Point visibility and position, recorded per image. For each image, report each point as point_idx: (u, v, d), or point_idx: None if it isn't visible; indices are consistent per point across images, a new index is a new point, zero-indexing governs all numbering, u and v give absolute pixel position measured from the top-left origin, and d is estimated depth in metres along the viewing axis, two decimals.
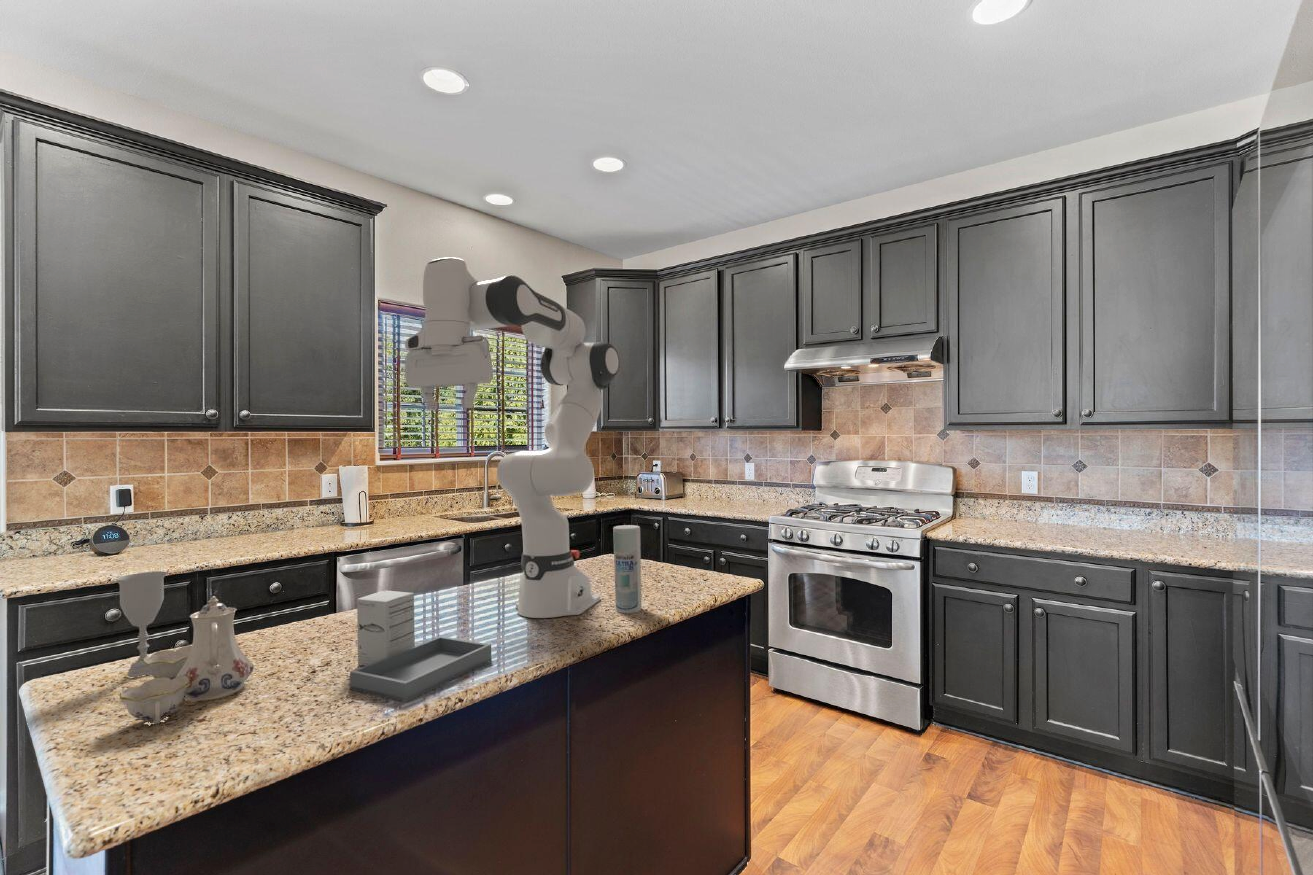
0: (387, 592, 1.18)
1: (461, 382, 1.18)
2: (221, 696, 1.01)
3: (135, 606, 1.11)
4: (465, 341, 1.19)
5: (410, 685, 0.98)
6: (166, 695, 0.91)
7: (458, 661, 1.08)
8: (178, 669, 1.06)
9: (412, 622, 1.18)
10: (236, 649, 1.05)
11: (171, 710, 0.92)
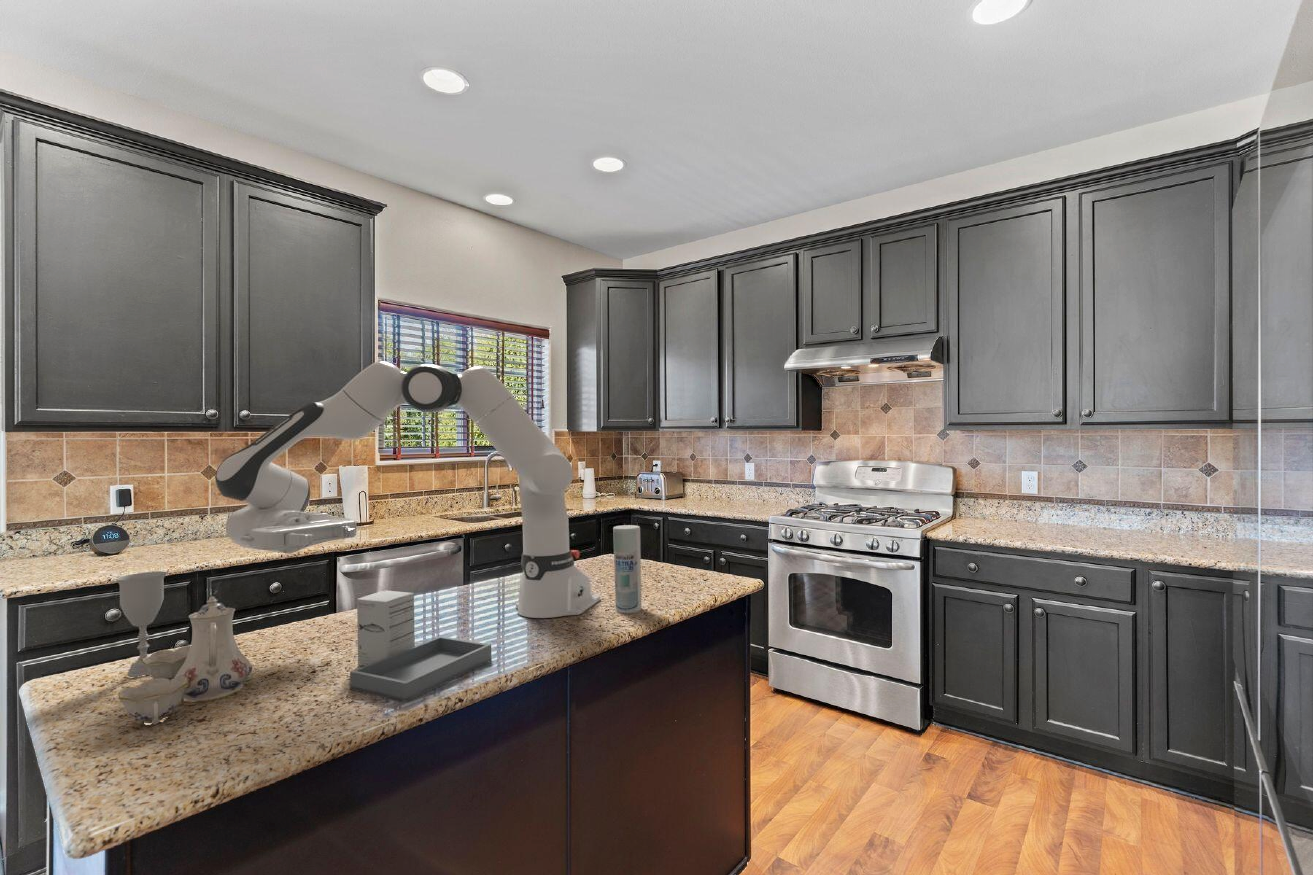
0: (387, 592, 1.18)
1: (291, 546, 1.20)
2: (220, 696, 1.01)
3: (135, 606, 1.11)
4: None
5: (410, 685, 0.98)
6: (165, 695, 0.91)
7: (458, 661, 1.08)
8: (177, 669, 1.05)
9: (412, 622, 1.18)
10: (235, 649, 1.04)
11: (170, 710, 0.92)
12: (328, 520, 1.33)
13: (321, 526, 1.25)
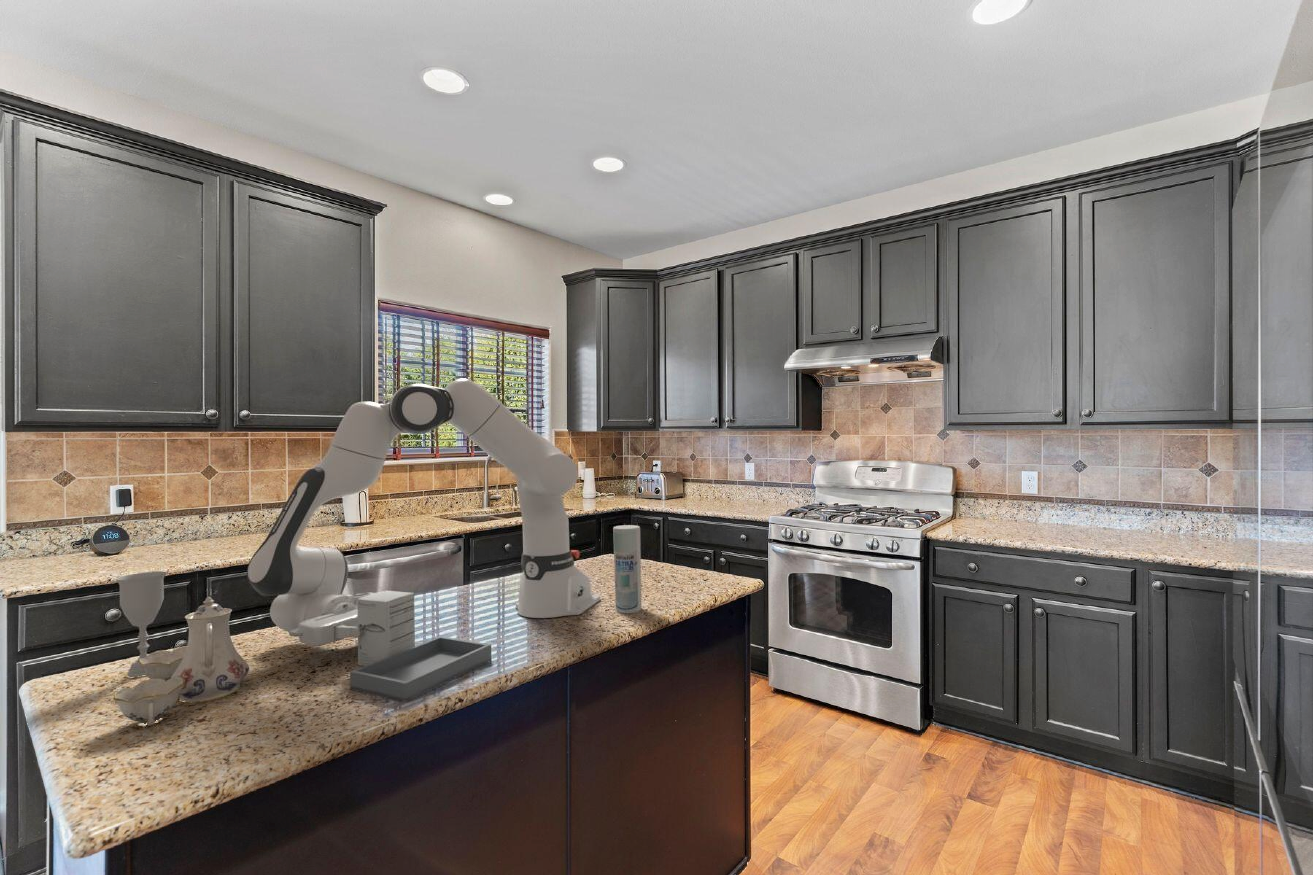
0: (387, 592, 1.18)
1: (341, 638, 1.14)
2: (216, 697, 1.01)
3: (135, 606, 1.11)
4: None
5: (410, 685, 0.98)
6: (160, 696, 0.90)
7: (458, 661, 1.08)
8: (174, 670, 1.05)
9: (413, 622, 1.18)
10: (231, 650, 1.04)
11: (165, 711, 0.92)
12: None
13: None
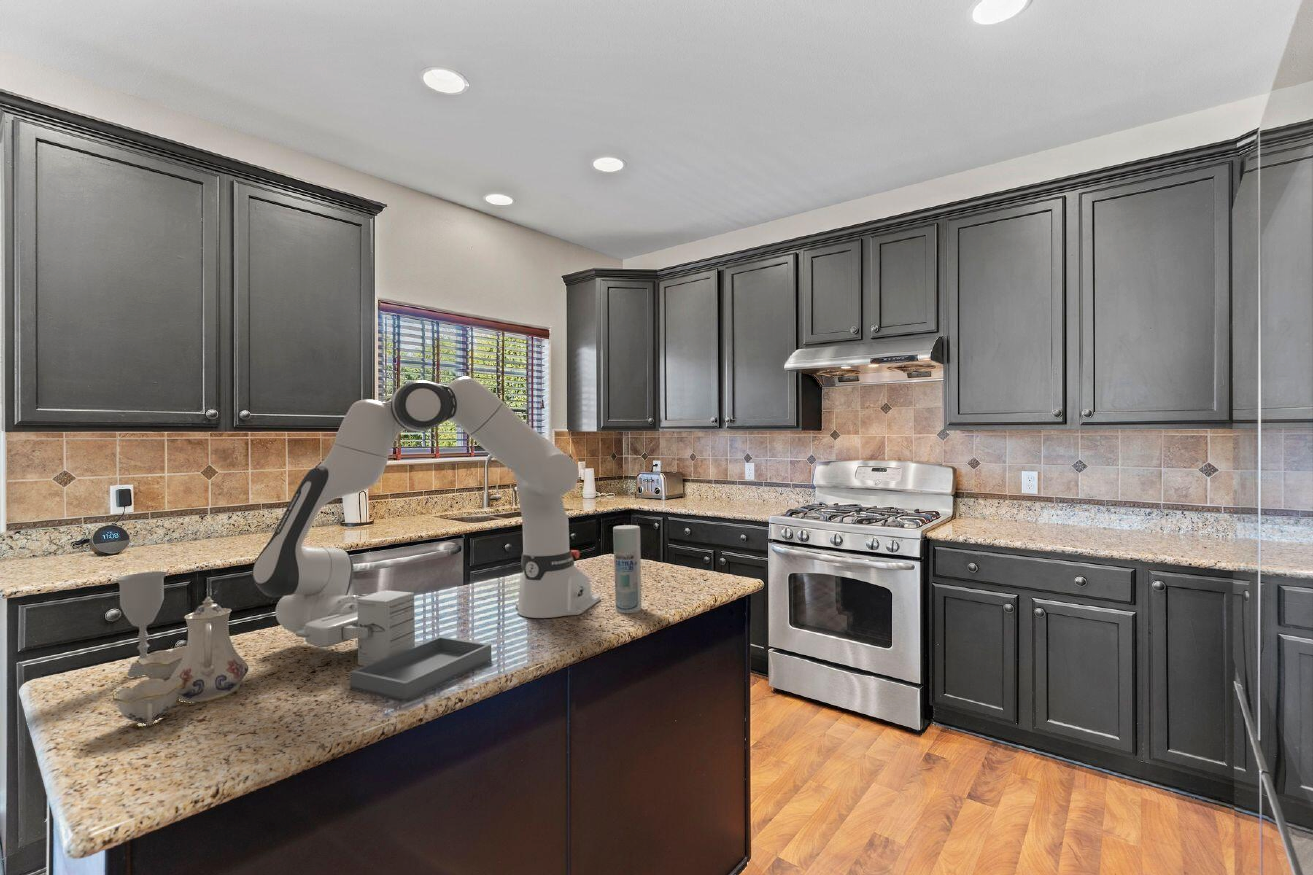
0: (387, 592, 1.18)
1: (348, 639, 1.13)
2: (215, 697, 1.00)
3: (135, 606, 1.11)
4: None
5: (410, 685, 0.98)
6: (159, 696, 0.90)
7: (458, 661, 1.08)
8: (173, 670, 1.05)
9: (413, 621, 1.18)
10: (231, 650, 1.04)
11: (164, 711, 0.92)
12: None
13: None
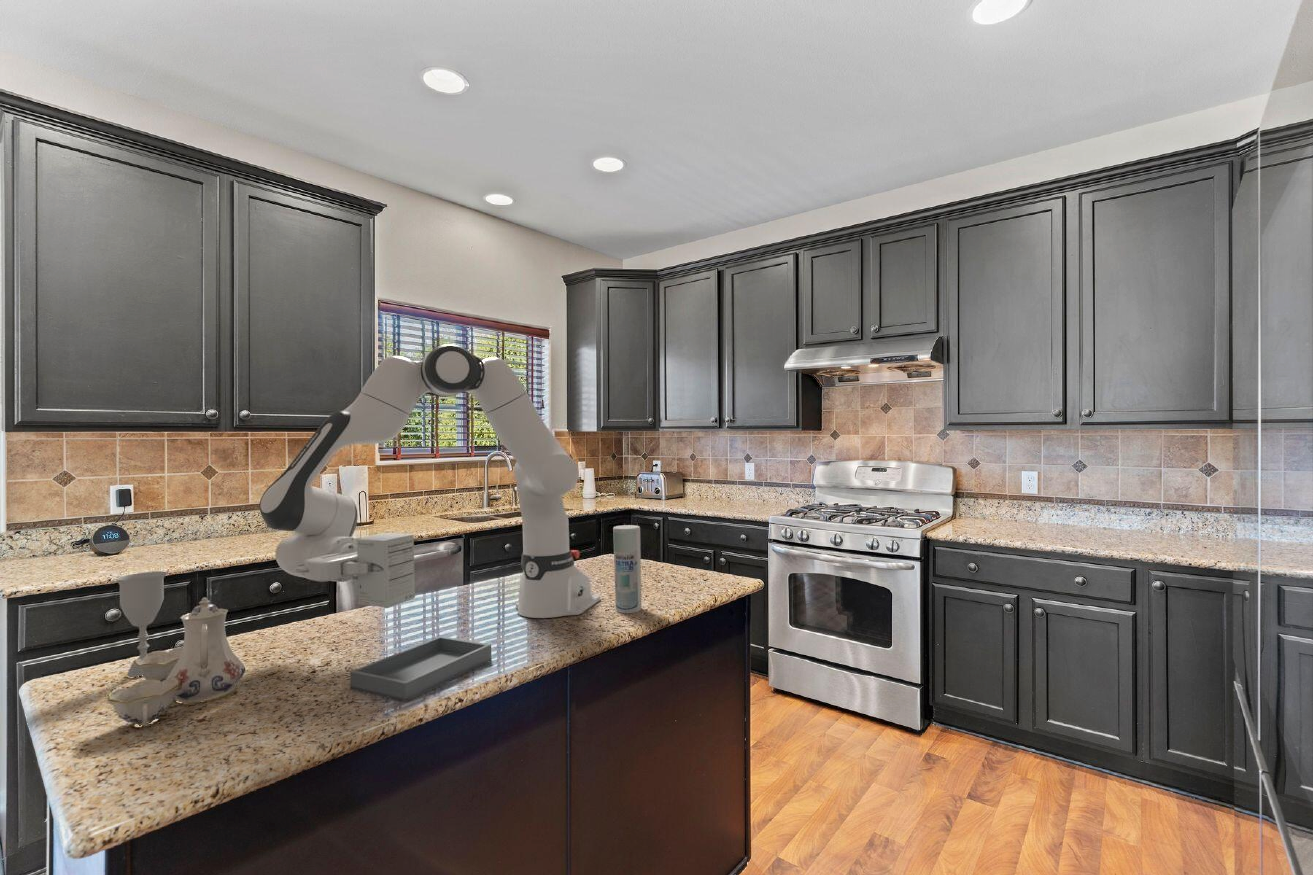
0: (387, 534, 1.18)
1: (348, 576, 1.14)
2: (212, 698, 1.00)
3: (135, 606, 1.11)
4: None
5: (410, 685, 0.98)
6: (154, 697, 0.90)
7: (458, 661, 1.08)
8: (170, 670, 1.05)
9: (412, 563, 1.18)
10: (227, 651, 1.04)
11: (160, 712, 0.92)
12: None
13: None
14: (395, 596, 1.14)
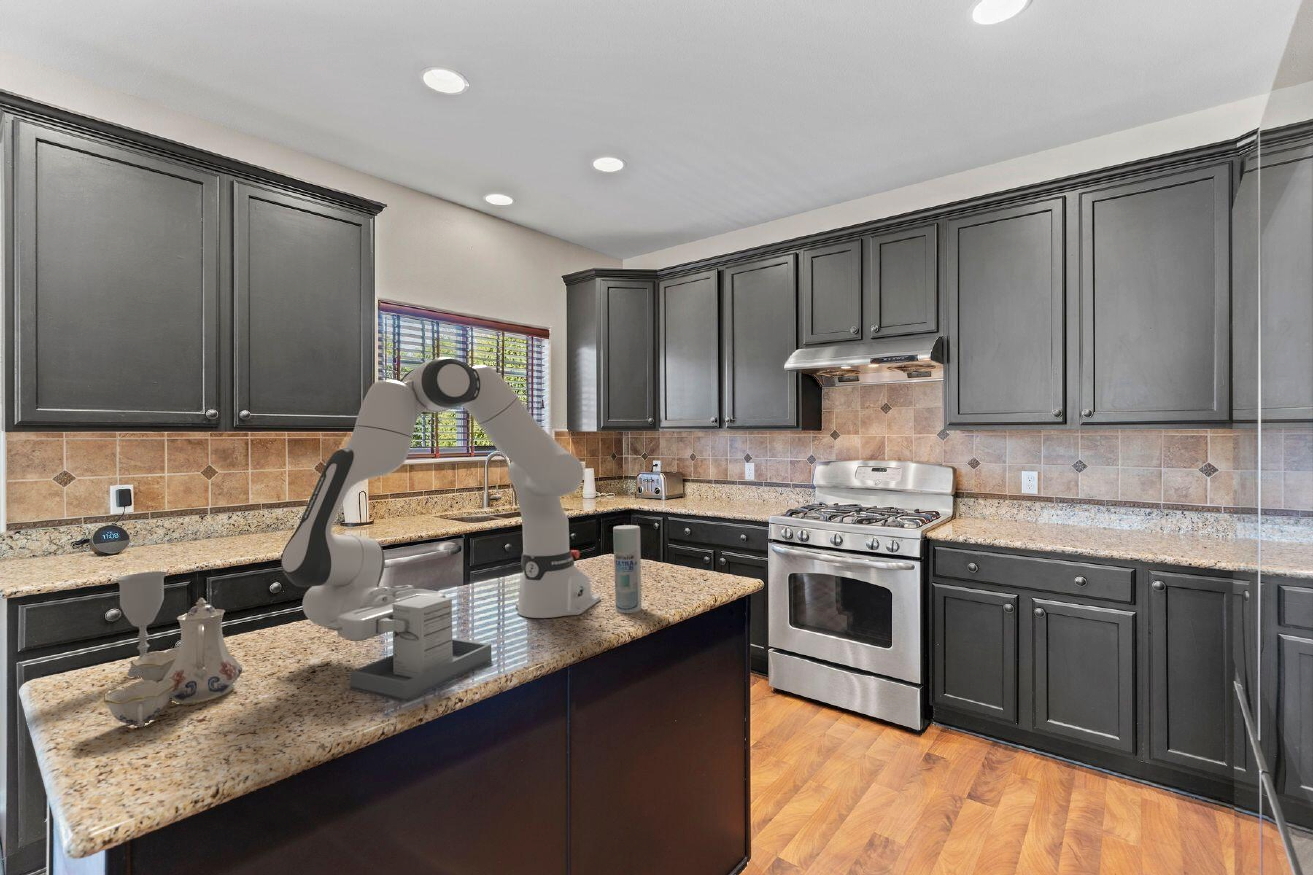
0: (424, 597, 1.11)
1: (383, 633, 1.06)
2: (208, 699, 1.00)
3: (135, 606, 1.11)
4: None
5: (410, 685, 0.98)
6: (150, 698, 0.90)
7: (458, 661, 1.08)
8: (167, 671, 1.05)
9: (450, 630, 1.10)
10: (224, 651, 1.04)
11: (155, 713, 0.91)
12: (415, 594, 1.19)
13: None
14: (431, 667, 1.06)
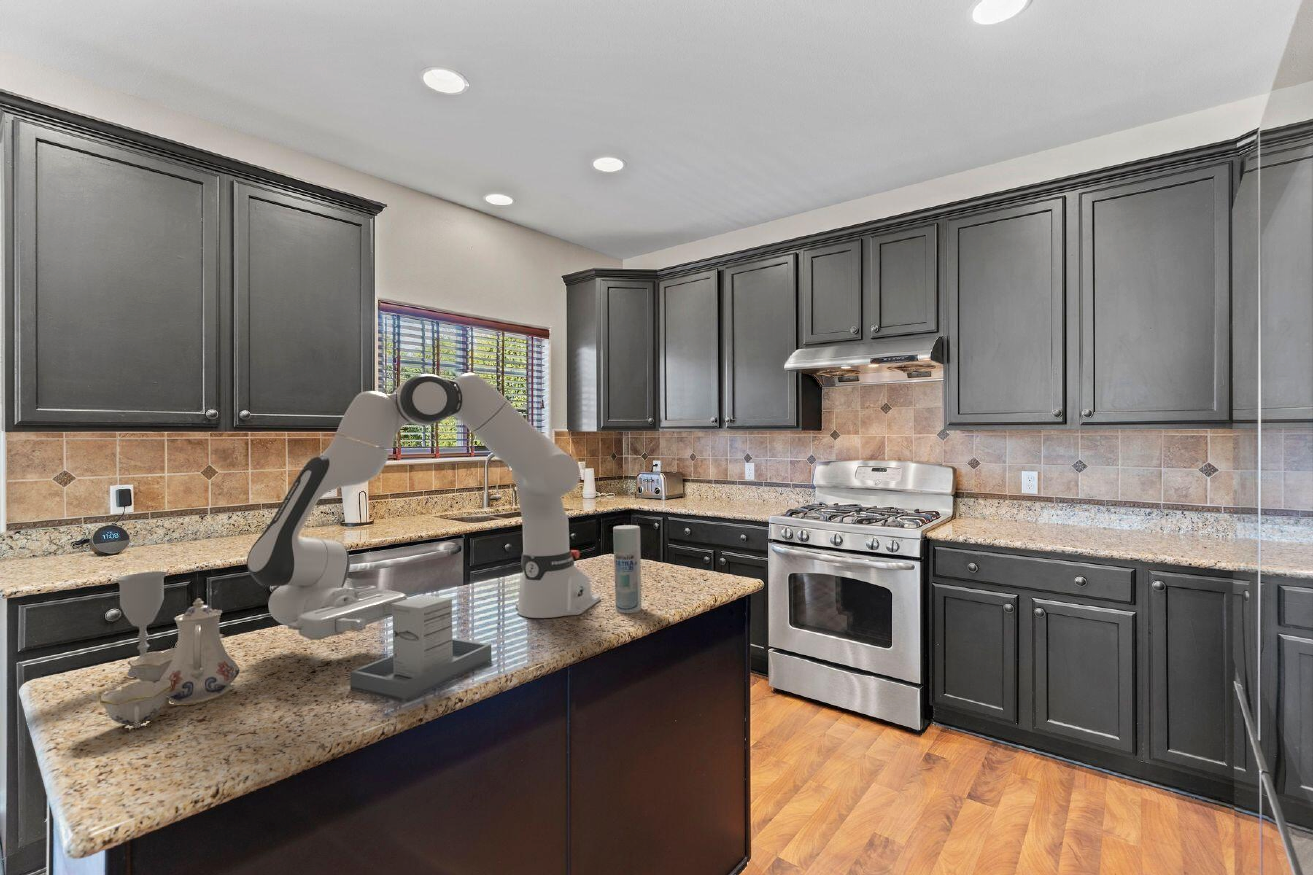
0: (424, 597, 1.11)
1: (342, 632, 1.11)
2: (205, 700, 1.00)
3: (135, 606, 1.11)
4: None
5: (410, 685, 0.98)
6: (146, 698, 0.89)
7: (458, 661, 1.08)
8: (164, 671, 1.04)
9: (450, 630, 1.10)
10: (221, 652, 1.03)
11: (152, 714, 0.91)
12: (377, 595, 1.24)
13: (372, 606, 1.16)
14: (431, 667, 1.06)
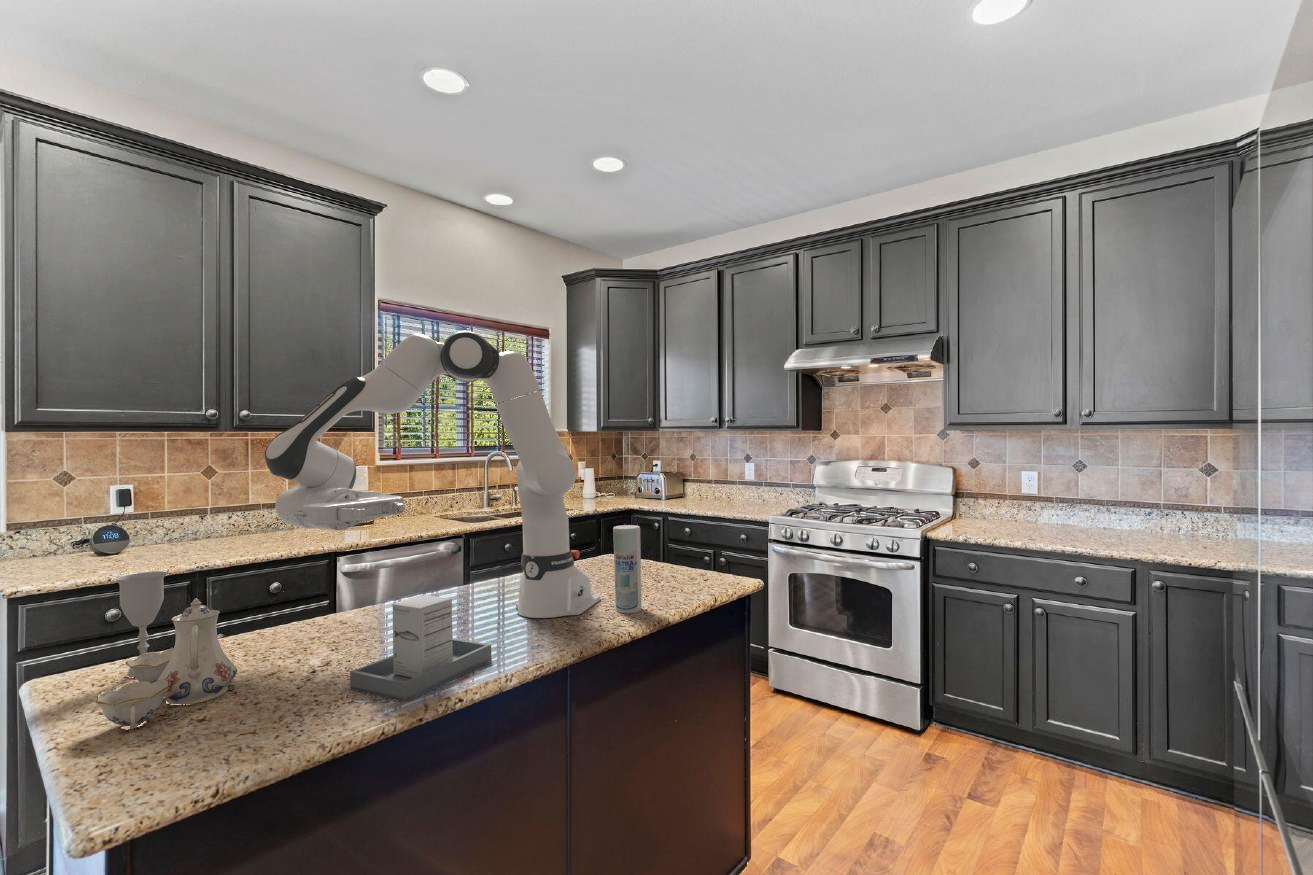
0: (424, 597, 1.11)
1: (343, 521, 1.20)
2: (202, 700, 0.99)
3: (135, 606, 1.11)
4: None
5: (410, 685, 0.98)
6: (143, 699, 0.89)
7: (458, 661, 1.08)
8: (162, 672, 1.04)
9: (450, 630, 1.10)
10: (219, 652, 1.03)
11: (148, 715, 0.91)
12: (376, 497, 1.33)
13: (371, 502, 1.25)
14: (431, 667, 1.06)
